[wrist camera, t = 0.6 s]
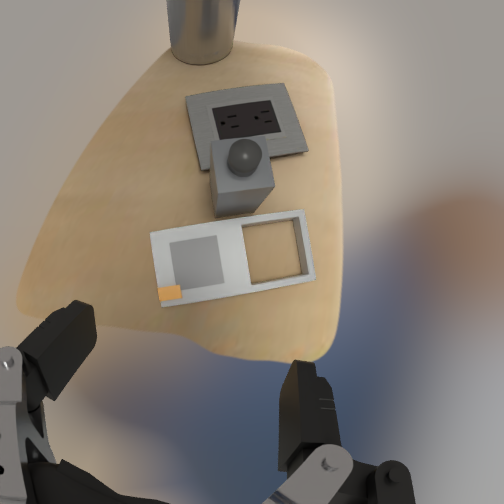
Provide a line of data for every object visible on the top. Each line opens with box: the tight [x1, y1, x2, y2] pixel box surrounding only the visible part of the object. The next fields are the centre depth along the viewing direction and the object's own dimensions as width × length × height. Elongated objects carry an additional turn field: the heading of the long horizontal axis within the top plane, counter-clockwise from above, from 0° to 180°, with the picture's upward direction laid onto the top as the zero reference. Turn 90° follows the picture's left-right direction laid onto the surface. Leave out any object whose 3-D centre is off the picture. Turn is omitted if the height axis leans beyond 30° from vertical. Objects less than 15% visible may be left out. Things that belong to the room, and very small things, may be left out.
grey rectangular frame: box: [150, 209, 316, 307], centre depth 30 cm, size 8×17×3 cm, turn 100°
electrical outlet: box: [185, 83, 309, 171], centre depth 32 cm, size 13×10×2 cm
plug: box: [210, 136, 275, 218], centre depth 26 cm, size 4×4×13 cm
